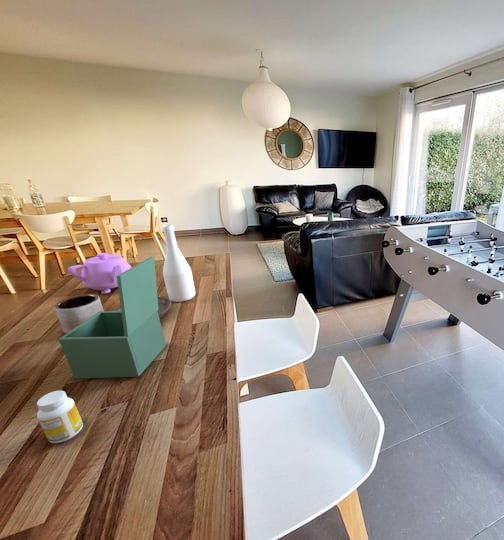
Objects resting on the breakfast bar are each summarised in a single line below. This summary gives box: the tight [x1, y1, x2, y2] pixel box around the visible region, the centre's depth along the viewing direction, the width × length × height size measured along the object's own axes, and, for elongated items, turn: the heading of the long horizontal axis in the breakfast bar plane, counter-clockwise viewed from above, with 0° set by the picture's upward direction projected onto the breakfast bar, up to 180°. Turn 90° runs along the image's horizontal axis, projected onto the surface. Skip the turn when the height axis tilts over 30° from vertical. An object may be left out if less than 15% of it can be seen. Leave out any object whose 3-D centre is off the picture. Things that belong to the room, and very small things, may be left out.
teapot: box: [67, 252, 133, 294], centre depth 119 cm, size 20×20×15 cm
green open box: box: [58, 310, 167, 379], centre depth 79 cm, size 16×14×12 cm
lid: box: [117, 256, 159, 337], centre depth 75 cm, size 17×14×1 cm
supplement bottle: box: [36, 390, 84, 444], centre depth 59 cm, size 5×5×10 cm
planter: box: [53, 293, 105, 335], centre depth 94 cm, size 11×11×10 cm
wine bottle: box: [161, 224, 196, 303], centre depth 112 cm, size 10×10×30 cm
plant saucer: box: [112, 296, 172, 319], centre depth 103 cm, size 18×18×3 cm
